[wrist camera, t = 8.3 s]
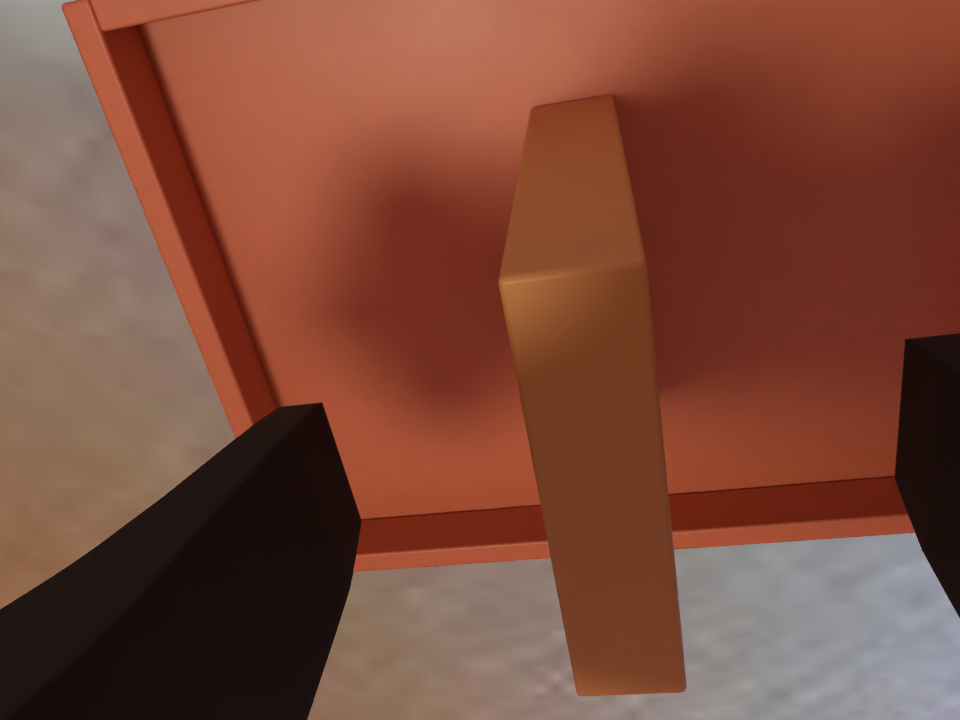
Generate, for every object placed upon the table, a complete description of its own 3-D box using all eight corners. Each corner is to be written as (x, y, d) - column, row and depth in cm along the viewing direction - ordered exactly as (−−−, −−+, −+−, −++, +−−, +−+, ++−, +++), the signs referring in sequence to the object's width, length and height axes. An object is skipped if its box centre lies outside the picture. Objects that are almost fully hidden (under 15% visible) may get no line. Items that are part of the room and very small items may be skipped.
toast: (613, 92, 13) (647, 258, 7) (644, 396, 16) (687, 695, 10) (529, 107, 14) (496, 279, 8) (575, 403, 17) (577, 698, 10)
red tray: (1082, -215, 11) (1161, -231, 10) (984, 468, 17) (1024, 526, 15) (115, -9, 14) (58, 4, 12) (312, 522, 20) (290, 577, 18)
